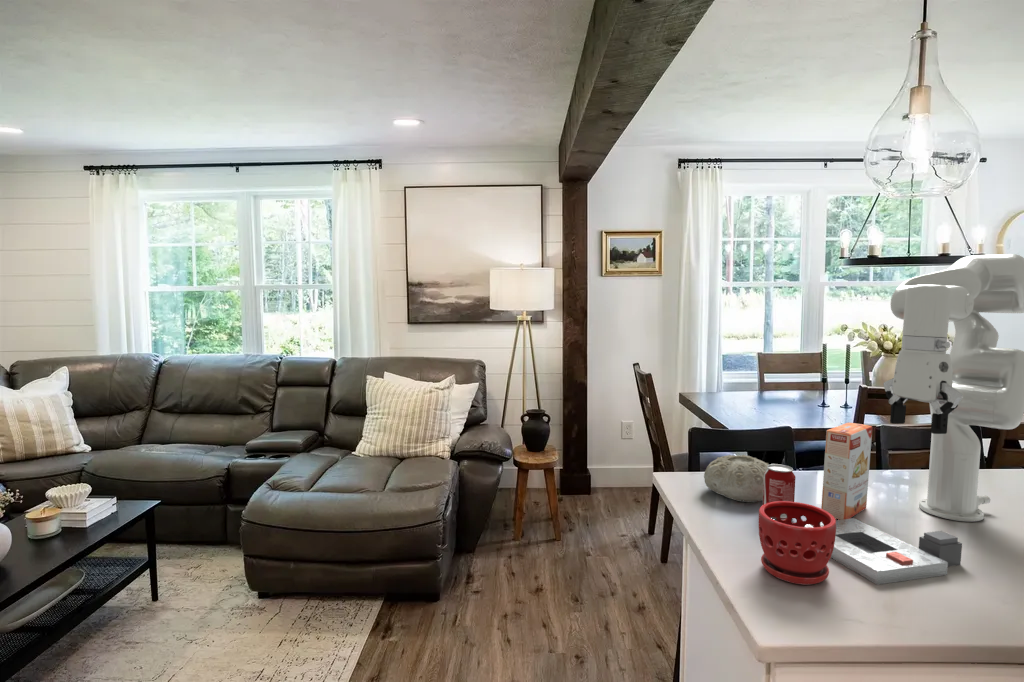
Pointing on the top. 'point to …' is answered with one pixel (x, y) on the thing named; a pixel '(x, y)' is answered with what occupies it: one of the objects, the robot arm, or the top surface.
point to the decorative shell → (736, 477)
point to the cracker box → (846, 470)
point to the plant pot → (796, 541)
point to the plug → (942, 546)
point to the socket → (881, 554)
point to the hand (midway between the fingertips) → (917, 428)
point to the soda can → (778, 485)
